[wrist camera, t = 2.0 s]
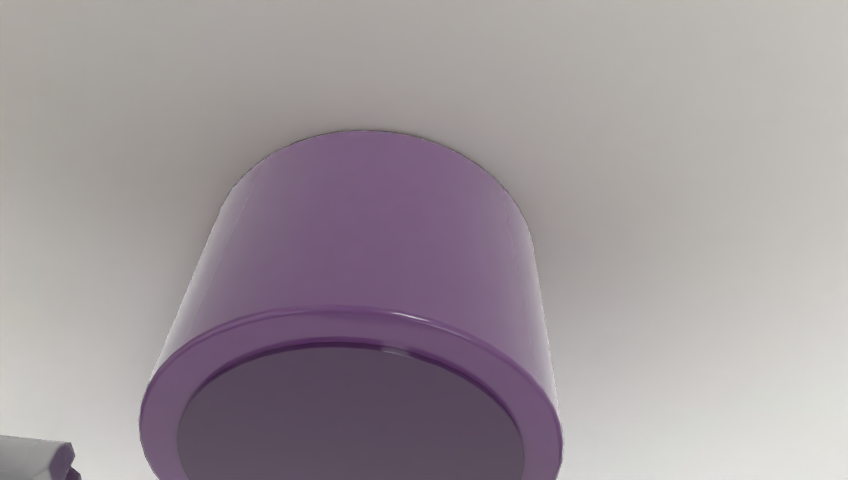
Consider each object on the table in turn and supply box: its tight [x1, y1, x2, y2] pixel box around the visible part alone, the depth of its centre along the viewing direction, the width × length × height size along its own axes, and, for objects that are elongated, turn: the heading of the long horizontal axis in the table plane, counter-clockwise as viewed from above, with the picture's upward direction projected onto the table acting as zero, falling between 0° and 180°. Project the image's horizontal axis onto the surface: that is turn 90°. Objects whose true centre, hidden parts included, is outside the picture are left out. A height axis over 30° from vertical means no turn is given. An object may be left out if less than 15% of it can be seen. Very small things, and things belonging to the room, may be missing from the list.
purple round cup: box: [138, 130, 564, 480], centre depth 13 cm, size 6×6×5 cm
